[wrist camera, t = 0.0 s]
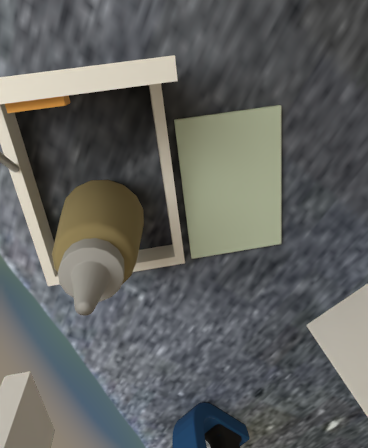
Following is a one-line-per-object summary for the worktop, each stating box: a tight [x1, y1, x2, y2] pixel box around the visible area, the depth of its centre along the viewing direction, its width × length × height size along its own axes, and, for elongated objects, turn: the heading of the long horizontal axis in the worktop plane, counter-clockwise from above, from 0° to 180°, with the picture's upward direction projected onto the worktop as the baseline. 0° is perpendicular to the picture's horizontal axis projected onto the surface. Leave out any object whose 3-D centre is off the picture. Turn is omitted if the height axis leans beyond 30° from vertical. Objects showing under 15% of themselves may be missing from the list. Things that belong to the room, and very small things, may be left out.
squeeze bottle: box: [52, 180, 144, 315], centre depth 30 cm, size 8×8×18 cm
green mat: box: [174, 105, 281, 259], centre depth 39 cm, size 16×11×1 cm
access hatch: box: [0, 55, 185, 286], centre depth 29 cm, size 20×15×17 cm
